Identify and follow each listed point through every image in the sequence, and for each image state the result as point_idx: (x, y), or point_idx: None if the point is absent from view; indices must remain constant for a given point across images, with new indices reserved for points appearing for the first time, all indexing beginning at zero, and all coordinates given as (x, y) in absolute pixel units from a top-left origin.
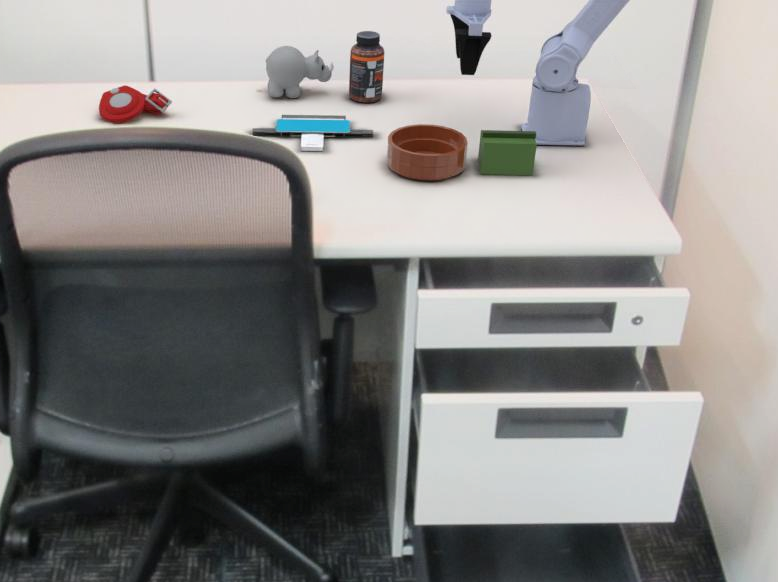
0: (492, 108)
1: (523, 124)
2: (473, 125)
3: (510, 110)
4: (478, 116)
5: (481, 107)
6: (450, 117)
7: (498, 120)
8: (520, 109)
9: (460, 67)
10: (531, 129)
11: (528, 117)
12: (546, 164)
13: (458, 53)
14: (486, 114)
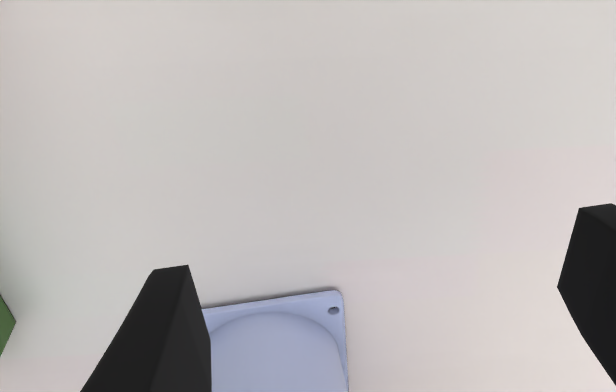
0: (522, 193)
1: (332, 301)
2: (339, 133)
3: (496, 249)
4: (441, 147)
5: (538, 154)
6: (431, 27)
7: (399, 218)
8: (502, 276)
9: (149, 303)
10: (220, 347)
11: (257, 361)
12: (26, 364)
13: (606, 240)
14: (461, 175)
